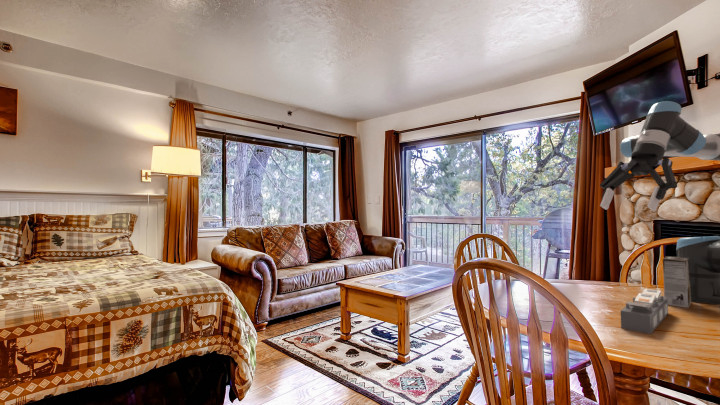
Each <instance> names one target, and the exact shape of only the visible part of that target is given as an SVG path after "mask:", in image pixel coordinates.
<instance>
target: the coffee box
mask: <svg viewBox="0 0 720 405" xmlns="http://www.w3.org/2000/svg"><path fill="white" fill-rule="evenodd" d="M662 270H663V272H662V273H663V293H664V294H663V296H664V297H665V298H668V306H674V307H680V308H687V309H689V308H690V306H691V303H692V301H691V290H690V270H689V258H681V257H677V256H669V255H667V256H666V255H665V257H664V258H663V259H662Z"/></svg>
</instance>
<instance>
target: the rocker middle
mask: <svg viewBox="0 0 720 405" xmlns="http://www.w3.org/2000/svg"><path fill="white" fill-rule="evenodd" d="M635 298H636V299H635V302H639V303H646V304H650V305H651V306H652V305H653V303H654V301H655V299H656V295H650V294H643V292H638V294H637V295H636V297H635Z"/></svg>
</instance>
